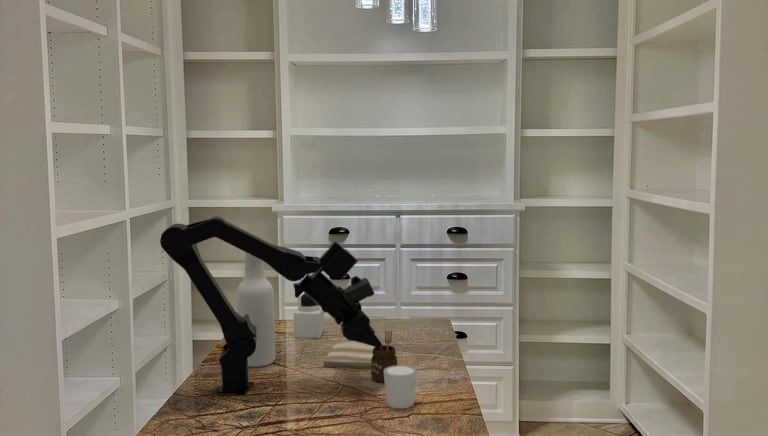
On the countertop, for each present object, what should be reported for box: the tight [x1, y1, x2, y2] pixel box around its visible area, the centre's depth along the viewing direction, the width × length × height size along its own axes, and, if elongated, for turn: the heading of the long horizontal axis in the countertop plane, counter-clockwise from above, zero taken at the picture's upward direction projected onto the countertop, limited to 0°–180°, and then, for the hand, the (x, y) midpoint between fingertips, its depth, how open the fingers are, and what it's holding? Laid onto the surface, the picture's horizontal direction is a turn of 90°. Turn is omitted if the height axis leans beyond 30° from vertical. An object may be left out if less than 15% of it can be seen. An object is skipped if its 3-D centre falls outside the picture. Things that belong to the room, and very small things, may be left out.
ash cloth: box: [323, 340, 391, 370], centre depth 167 cm, size 16×14×2 cm
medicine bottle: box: [293, 292, 325, 339], centre depth 186 cm, size 7×7×12 cm
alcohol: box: [236, 252, 277, 368], centre depth 162 cm, size 9×9×30 cm
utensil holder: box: [370, 328, 398, 383], centre depth 151 cm, size 6×6×12 cm
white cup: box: [384, 364, 418, 410], centre depth 137 cm, size 7×7×7 cm
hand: (377, 339), depth 151 cm, fingers open, 9 cm apart
